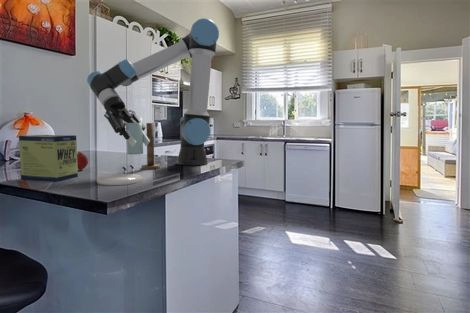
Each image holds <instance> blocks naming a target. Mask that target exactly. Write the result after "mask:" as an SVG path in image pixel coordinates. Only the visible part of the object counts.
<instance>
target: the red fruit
mask: <svg viewBox="0 0 470 313" xmlns="http://www.w3.org/2000/svg"><path fill="white" fill-rule="evenodd" d="M88 165H89V160H88V157H87V156H86V155H85V154H84V153H82V152H81V151H80V150H79V151H77V167H78V171H82V170H84V169H86V167H87V166H88Z"/></svg>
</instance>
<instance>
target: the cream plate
mask: <svg viewBox="0 0 470 313" xmlns="http://www.w3.org/2000/svg"><path fill="white" fill-rule="evenodd" d="M143 180H144V179H143V176H142V175H139V174H137V173H136V174H135V173H134V174H133V173H119V174H117V173H116V174H107V175H101V176H99V177H97V178H96V183H97V184H98V185H103V186H124V185H125V186H127V185H132V184H138V183H141V182H143Z"/></svg>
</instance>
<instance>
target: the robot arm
mask: <svg viewBox="0 0 470 313" xmlns="http://www.w3.org/2000/svg"><path fill="white" fill-rule="evenodd" d="M219 32H220V31H219V27H218V25H217V24H216V23H215V22H214V21H213V20H211V19H210V18H205V17H204V18H200V19H197V20H196V21H195V22H194V23H193V24H192V25H191V29H190V32H189V33H188V34H187V35H185V36H184V37H182V38H180V39H179V42H176V43H174V44H172V45H170V46H168V47H166V48H164V49H162V50H159V51H157V52H155V53H152V54H150V55H148V56H146V57H144V58H141V59H139V60H137V61H135V62H133V63H132V62H130V60H129V59H127V58H125V59H122V60H121V61H119V62H118V63H116V64H115V65H113V66H112V67H110V68H109V69H107V70H106V71H104V72H102V71H99V70H96V71H93V72H90V73H89V74H88V76H87V78H86V82H87V85H88V86H89V88H90V90H91V91H92V92H93V94H94V95H95V96H96V98H97V100H99V102H100V104H101V105H102V107H103V108H104V110H105V113H104V115H103V116H104V117H105V119H106V120H107V121H108V122H109V124H110V125H111V128H112V129H113V131H114V133H115V134H118V136H123V138H124V140H126V142H127V141H128V142H129V144H130V145H131V147H134V145H135V144H136V140H135V139H134V138H133V136H132V135H131V133H130V132H129V130H126V125H125V124H126V123H142V135H143V145H144V146H146V147H147V145H148V144H149V142H150V140H149V139H148V137H147V132H145V130H146V129H147V127H146V125H145V124H144V123H143V122H142V120H141V119H140V118H139V117H138V115H137V114H136V112H135V111H133V110H132V111H129V110H128V109H127V108H126V104H125V102H124V101H123V99H122V98H121V97H120V95H119V94H118V92H117V91H116V90H115V89H117V88H118V87H120V86H122V87H129V86H131V85H132V84H133V83H135V82H137V81H139V80H141V79H143V78H146V77H147V76H151V75H152V74H154V73H157V72H158V71H161V70H163V69H165V68H168V67H170V66H171V65H173V64H175V63H177V62H180V61H182V60H183V59H186V58H187V59H191V68H190V76H189V77H190V78H189V91H188V103H187V104H188V106H187V110H186V111H185V112H184V113H183V116H182V117H181V118H180V119H179V120H180V122H179V125H180V128H179V129H180V136H179V137H180V149H179V152H178V156H177V159H176V163H177V165H179V166H180V165H181V166H203V165H207V163H208V161H209V160H208V157H207V154H206V150H205V143H206V142H207V141H208V140H209V138H210V135H211V126H210V122H211V121H210V120H211V115H210V114H209V112H208V105H209V92H210V80H211V79H210V78H211V71H212V69H211V68H212V58H214V56H216V52H217V51H216V50H217V43H218V42H217V41H218V40H219V36H220V33H219ZM124 122H125V124H124Z"/></svg>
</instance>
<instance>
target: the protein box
mask: <svg viewBox="0 0 470 313" xmlns="http://www.w3.org/2000/svg"><path fill="white" fill-rule="evenodd" d="M18 144H19V161H20V179H21V180H28V181H40V182H42V181H43V182H54V183H56V182H61V181H65V180H70V179H74V178H78V177H79V173H78V171H79V169H78V167H77V154H78V147H77V146H78V145H77V135H74V134H73V135H72V134H71V135H68V134H67V135H66V134H65V135H62V134H54V135H53V134H29V135H28V134H27V135H18Z"/></svg>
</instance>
